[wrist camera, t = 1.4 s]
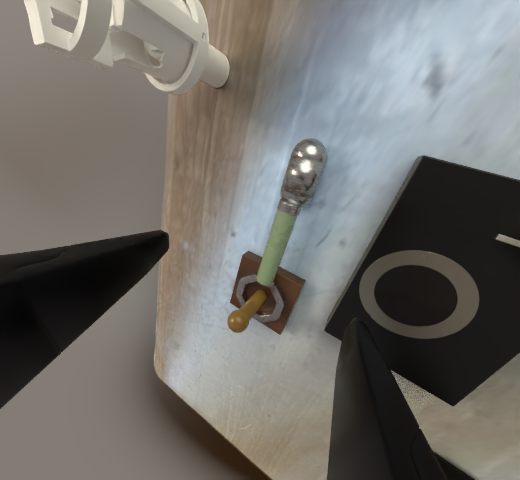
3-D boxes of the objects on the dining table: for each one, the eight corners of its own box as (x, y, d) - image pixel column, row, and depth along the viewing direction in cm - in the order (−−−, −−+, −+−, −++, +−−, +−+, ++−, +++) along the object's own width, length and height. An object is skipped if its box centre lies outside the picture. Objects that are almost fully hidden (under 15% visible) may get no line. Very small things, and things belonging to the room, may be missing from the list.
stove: (466, 394, 20) (477, 422, 18) (328, 317, 25) (323, 331, 23) (677, 221, 12) (744, 232, 10) (419, 154, 17) (425, 152, 15)
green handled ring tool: (280, 319, 28) (269, 336, 25) (242, 295, 30) (227, 309, 27) (352, 150, 19) (347, 146, 16) (289, 132, 21) (275, 127, 18)
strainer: (192, 108, 25) (9, 50, 13) (192, 32, 23) (-39, -136, 10) (243, 109, 22) (71, 35, 10) (249, 22, 20) (26, -228, 7)
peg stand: (284, 327, 28) (256, 376, 22) (235, 297, 31) (196, 332, 24) (305, 280, 25) (279, 321, 18) (248, 250, 27) (207, 276, 21)
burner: (436, 354, 18) (437, 356, 18) (344, 305, 21) (344, 306, 21) (508, 280, 15) (509, 282, 15) (386, 233, 17) (386, 234, 17)
